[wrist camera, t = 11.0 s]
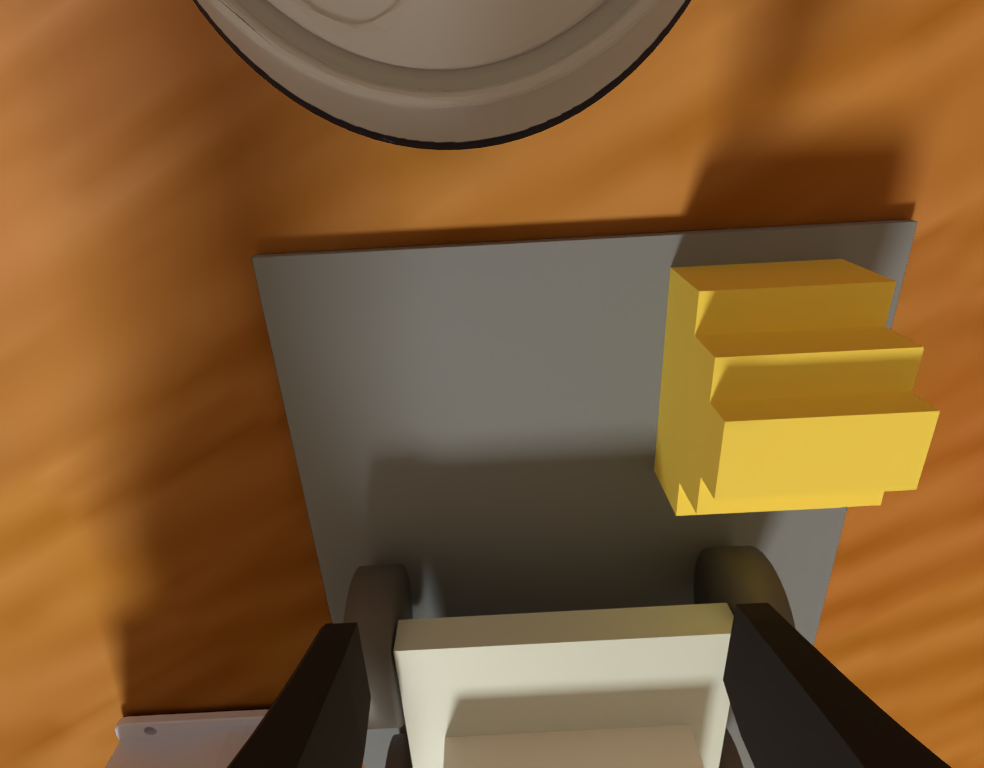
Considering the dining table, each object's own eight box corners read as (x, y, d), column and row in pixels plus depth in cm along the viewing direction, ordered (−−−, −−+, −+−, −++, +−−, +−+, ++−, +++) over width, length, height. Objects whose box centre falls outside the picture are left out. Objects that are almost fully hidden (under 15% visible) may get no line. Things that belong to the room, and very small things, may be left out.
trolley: (406, 781, 27) (387, 958, 21) (363, 535, 21) (321, 690, 16) (701, 766, 27) (760, 939, 21) (740, 515, 21) (835, 663, 16)
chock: (654, 470, 20) (704, 574, 16) (670, 267, 17) (738, 323, 13) (800, 463, 20) (893, 565, 16) (841, 258, 17) (970, 311, 13)
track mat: (371, 787, 28) (370, 796, 28) (256, 255, 17) (251, 257, 17) (777, 766, 28) (781, 775, 27) (908, 219, 17) (917, 221, 17)
